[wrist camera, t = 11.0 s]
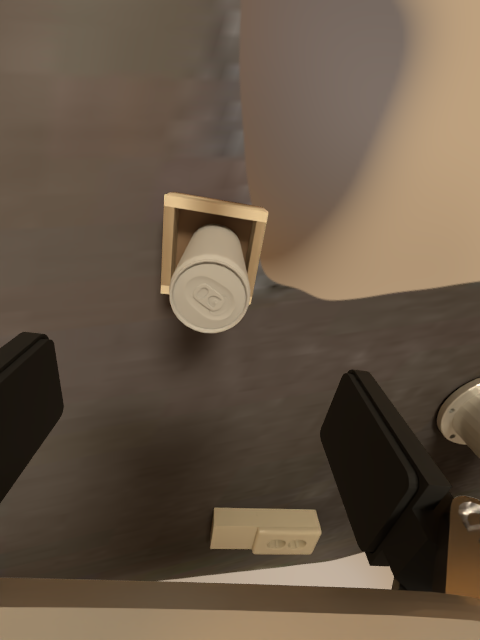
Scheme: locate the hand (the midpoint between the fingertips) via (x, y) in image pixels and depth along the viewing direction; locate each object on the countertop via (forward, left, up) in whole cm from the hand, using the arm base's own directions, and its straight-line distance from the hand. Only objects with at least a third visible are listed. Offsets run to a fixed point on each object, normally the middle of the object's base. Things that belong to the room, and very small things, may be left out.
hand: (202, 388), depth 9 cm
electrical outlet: (-14, +47, -21) cm, 53 cm away
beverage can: (0, 0, -20) cm, 20 cm away
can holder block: (0, 0, -21) cm, 21 cm away
